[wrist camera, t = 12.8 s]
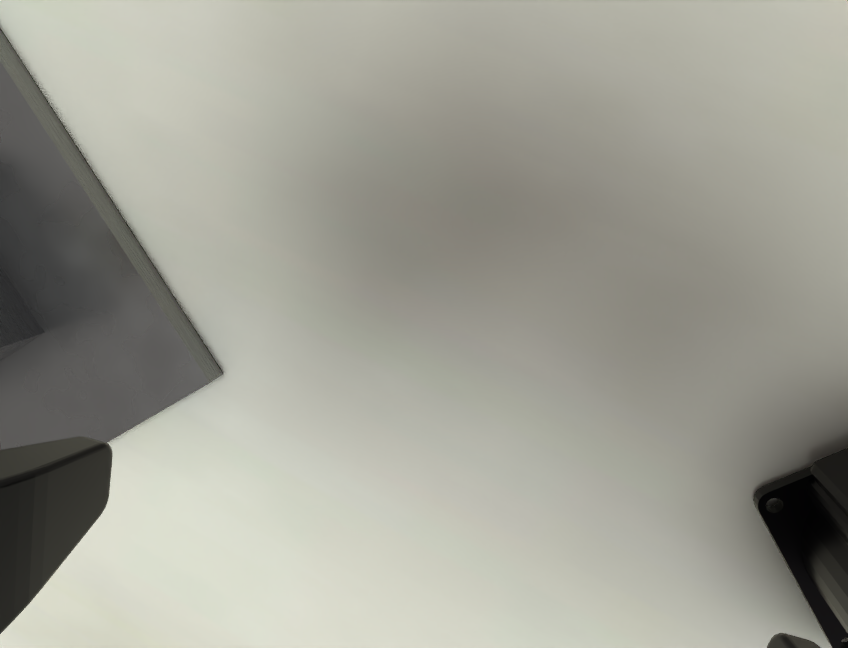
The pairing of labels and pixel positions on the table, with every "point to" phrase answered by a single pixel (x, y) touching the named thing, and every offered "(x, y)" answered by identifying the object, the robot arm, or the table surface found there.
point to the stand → (76, 291)
